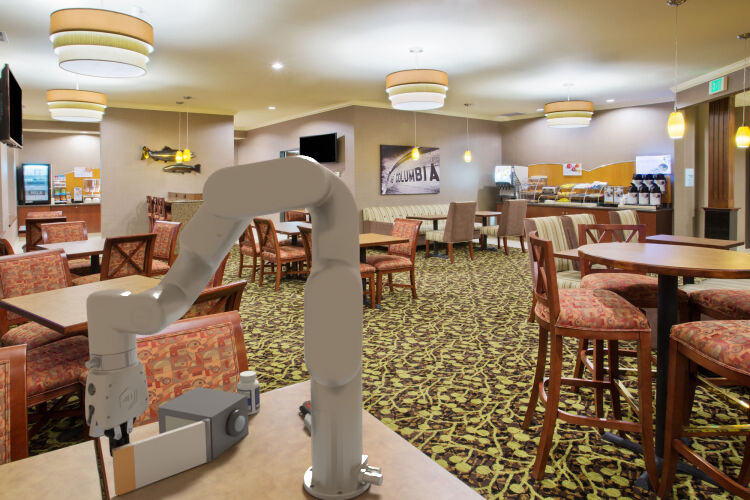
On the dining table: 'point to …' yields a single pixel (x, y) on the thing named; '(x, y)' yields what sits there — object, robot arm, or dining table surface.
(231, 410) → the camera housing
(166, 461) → the side door
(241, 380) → the pill bottle
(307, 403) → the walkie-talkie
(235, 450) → the dining table surface
